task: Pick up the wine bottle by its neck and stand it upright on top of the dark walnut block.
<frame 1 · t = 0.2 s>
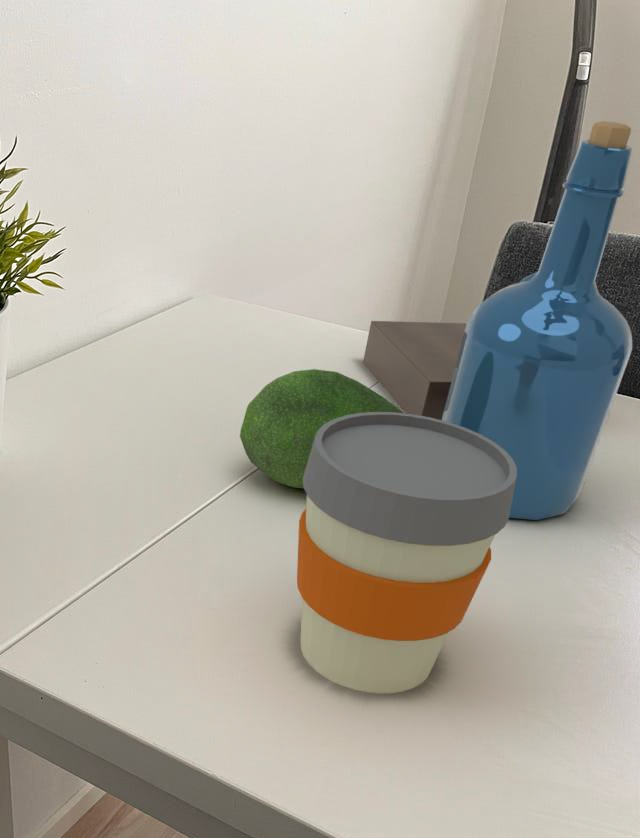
walnut block: (466, 395, 109), on the table
reusable coffee cup: (364, 656, 68), on the table
fruit: (318, 486, 89), on the table
wine bottle: (500, 491, 91), on the table
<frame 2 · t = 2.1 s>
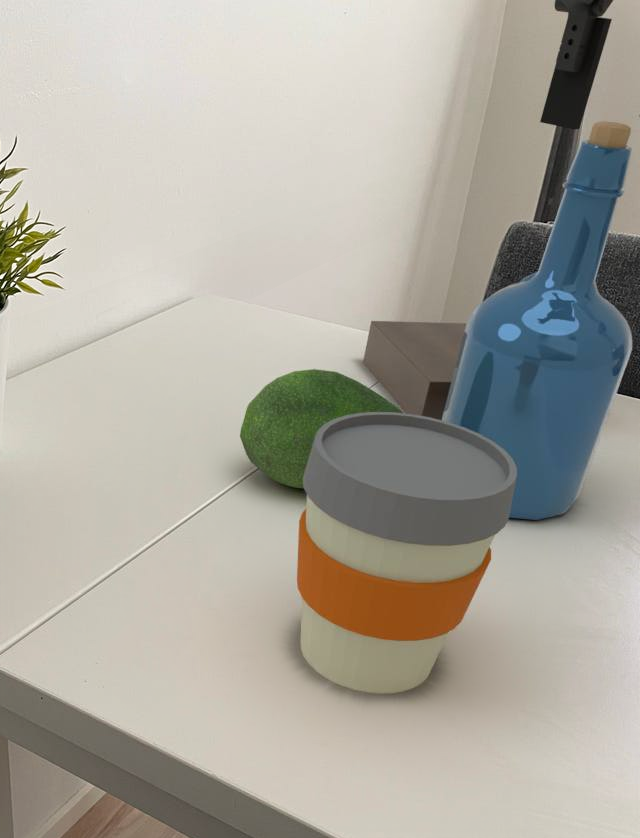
hand: (610, 123, 73), 30 cm above the table, tool pointing down, fingers open, 13 cm apart
nothing on the table moved.
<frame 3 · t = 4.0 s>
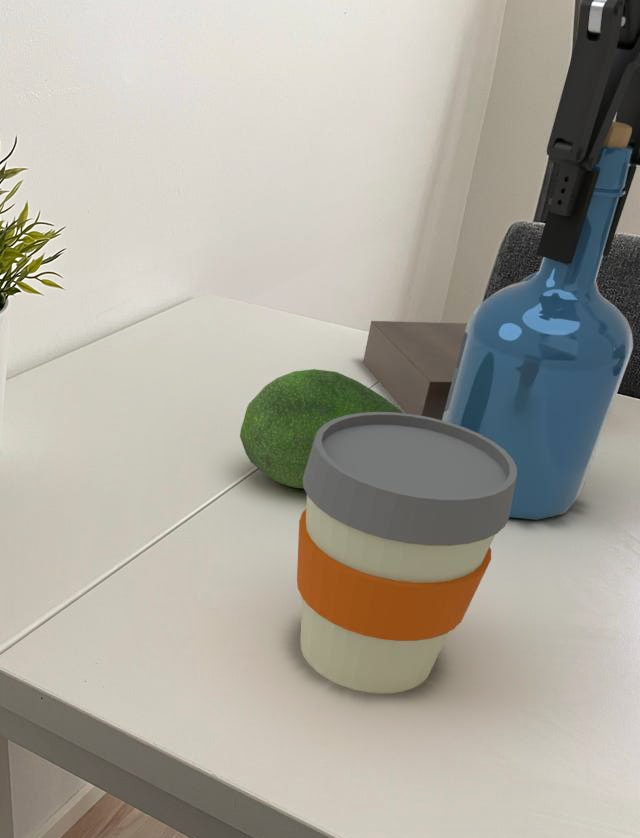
hand: (572, 254, 79), 21 cm above the table, tool pointing down, fingers closed on wine bottle, 4 cm apart
wine bottle: (500, 490, 91), on the table, touching gripper
everything else where it was.
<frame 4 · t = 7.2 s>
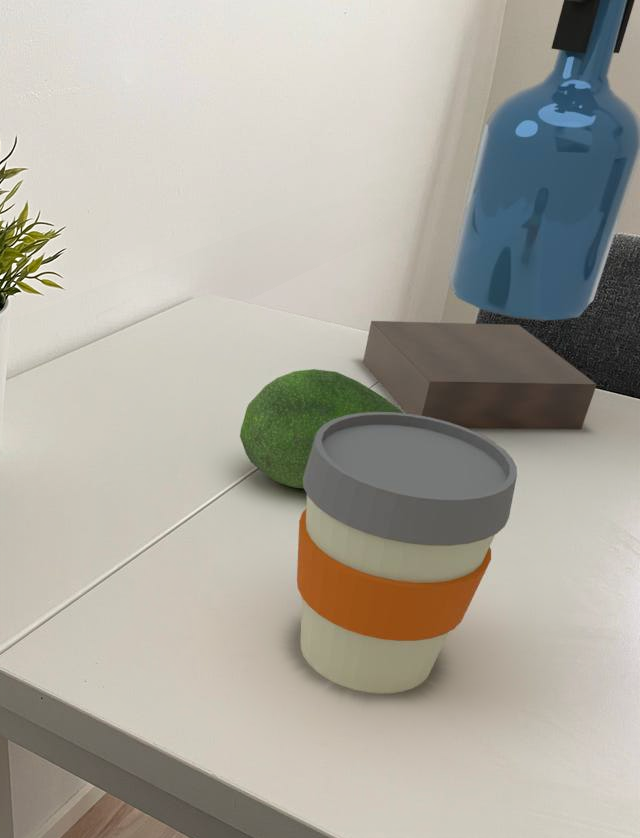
hand: (585, 50, 82), 34 cm above the table, tool pointing down, fingers closed on wine bottle, 4 cm apart
wine bottle: (515, 303, 95), point 13 cm above the table, touching gripper
everything else where it was.
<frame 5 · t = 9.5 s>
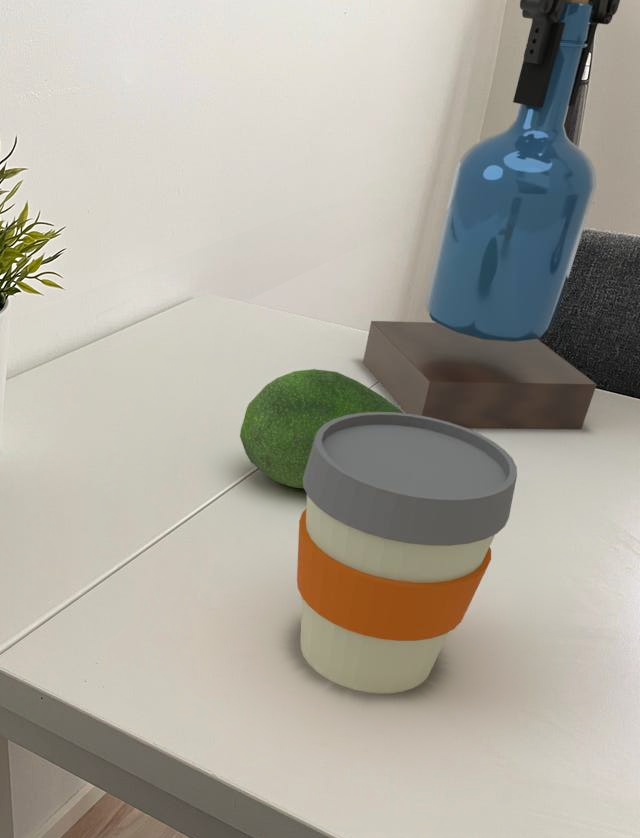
hand: (544, 103, 93), 29 cm above the table, tool pointing down, fingers closed on wine bottle, 4 cm apart
wine bottle: (485, 325, 105), point 8 cm above the table, touching gripper
everything else where it was.
when the fingers open (26 cm above the table, at t = 10.7 s): wine bottle stays where it is, resting on walnut block.
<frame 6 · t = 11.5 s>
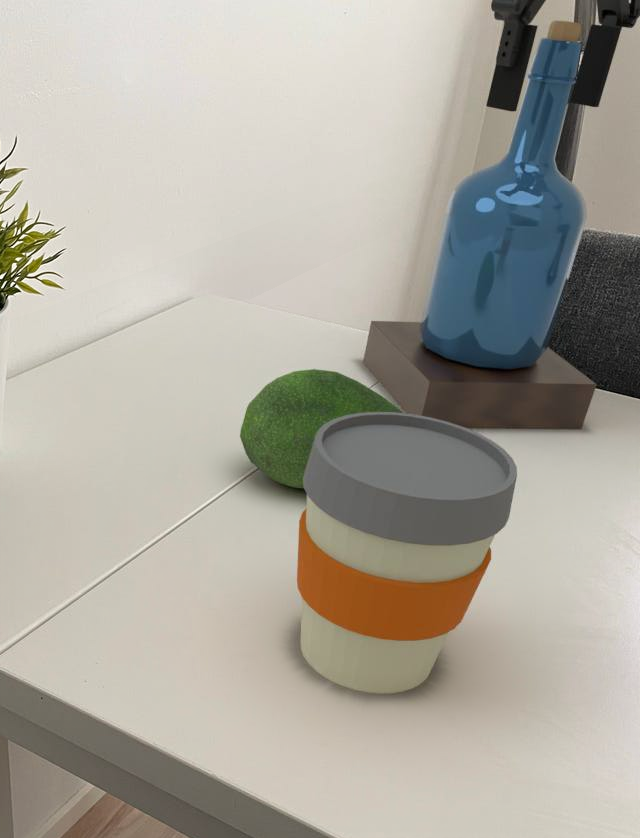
hand: (543, 107, 93), 28 cm above the table, tool pointing down, fingers open, 13 cm apart
wine bottle: (478, 352, 107), point 5 cm above the table, touching walnut block
everything else where it was.
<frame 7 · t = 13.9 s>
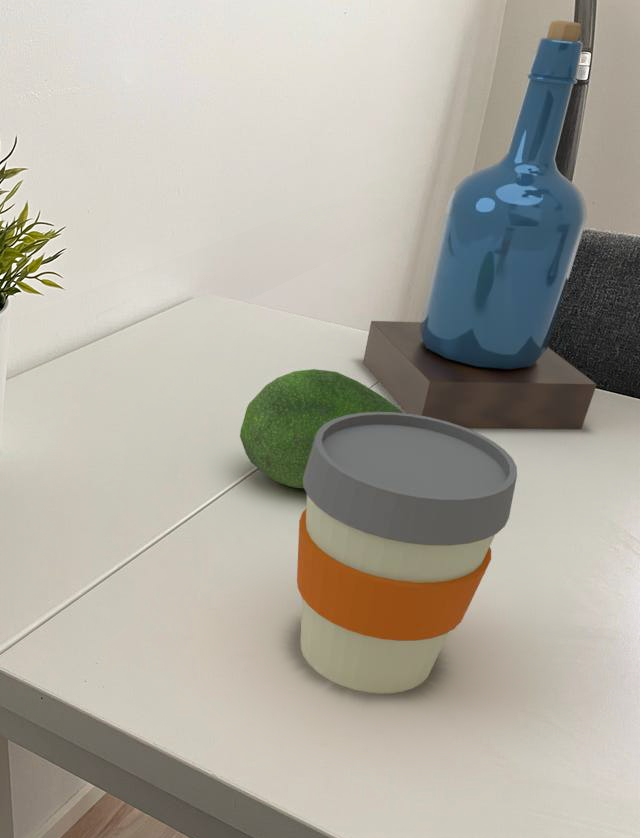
nothing on the table moved.
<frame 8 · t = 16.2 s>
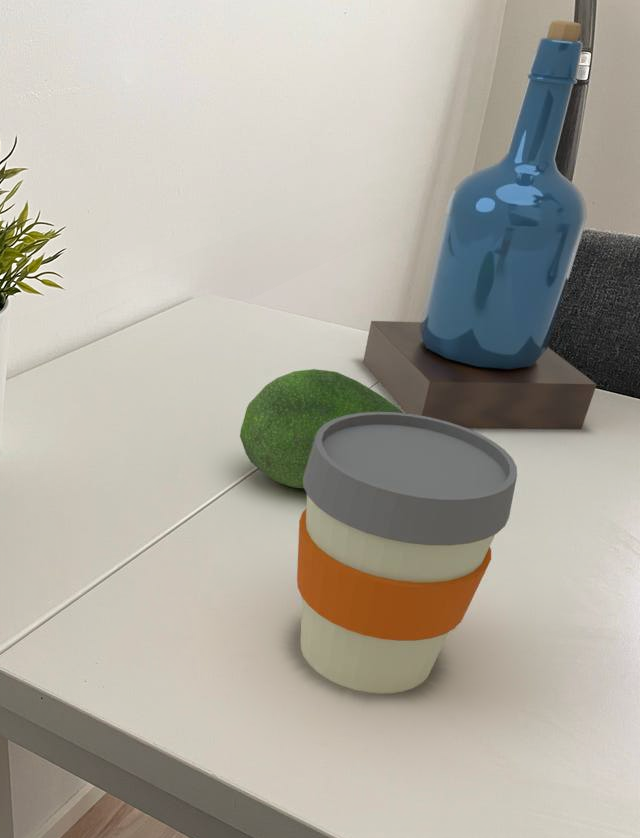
nothing on the table moved.
at the end: wine bottle inside the target area on the walnut block (0.1 cm from its centre), point 4.8 cm above the walnut block's base; wine bottle tilted 0°; the gripper is holding nothing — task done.
